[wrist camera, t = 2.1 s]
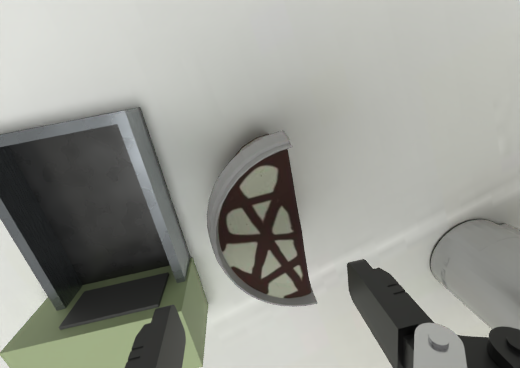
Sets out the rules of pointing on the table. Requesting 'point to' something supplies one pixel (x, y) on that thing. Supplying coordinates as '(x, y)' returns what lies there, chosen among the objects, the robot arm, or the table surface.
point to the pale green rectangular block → (110, 322)
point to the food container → (260, 224)
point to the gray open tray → (88, 203)
